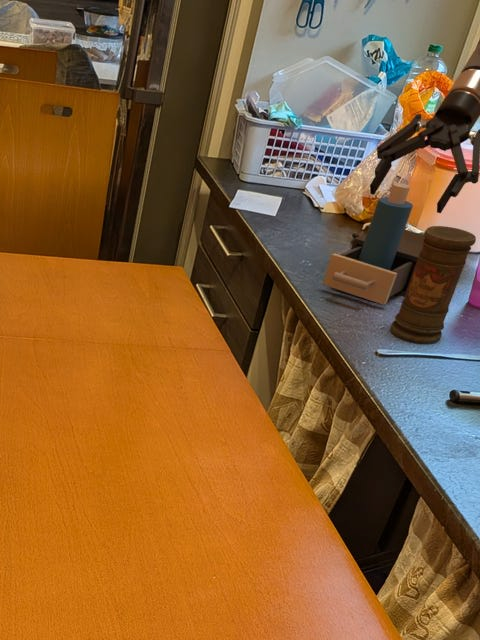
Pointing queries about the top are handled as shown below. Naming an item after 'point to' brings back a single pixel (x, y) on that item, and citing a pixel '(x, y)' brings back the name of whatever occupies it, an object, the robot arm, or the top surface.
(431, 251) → the container
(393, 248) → the bottle
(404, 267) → the drawer
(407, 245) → the cabinet
